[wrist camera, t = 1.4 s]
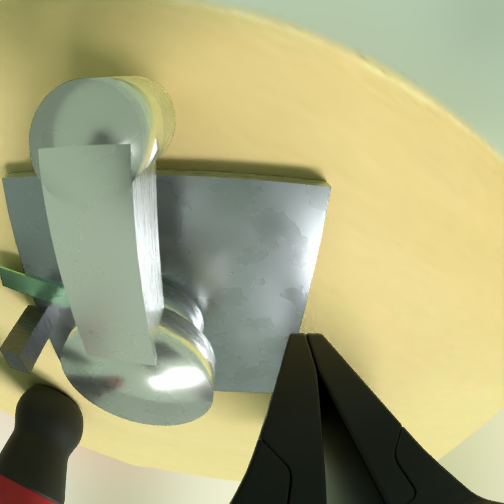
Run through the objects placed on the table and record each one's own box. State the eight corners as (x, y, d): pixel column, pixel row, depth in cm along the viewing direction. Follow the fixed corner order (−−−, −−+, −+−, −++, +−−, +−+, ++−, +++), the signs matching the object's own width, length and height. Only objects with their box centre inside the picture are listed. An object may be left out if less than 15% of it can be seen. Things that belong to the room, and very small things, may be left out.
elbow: (216, 381, 22) (213, 437, 18) (101, 367, 21) (84, 417, 17) (231, 74, 12) (224, 72, 8) (48, 86, 11) (-16, 99, 7)
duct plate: (281, 383, 26) (286, 443, 21) (43, 355, 25) (20, 402, 20) (326, 181, 17) (361, 231, 12) (-16, 175, 16) (-72, 212, 10)
